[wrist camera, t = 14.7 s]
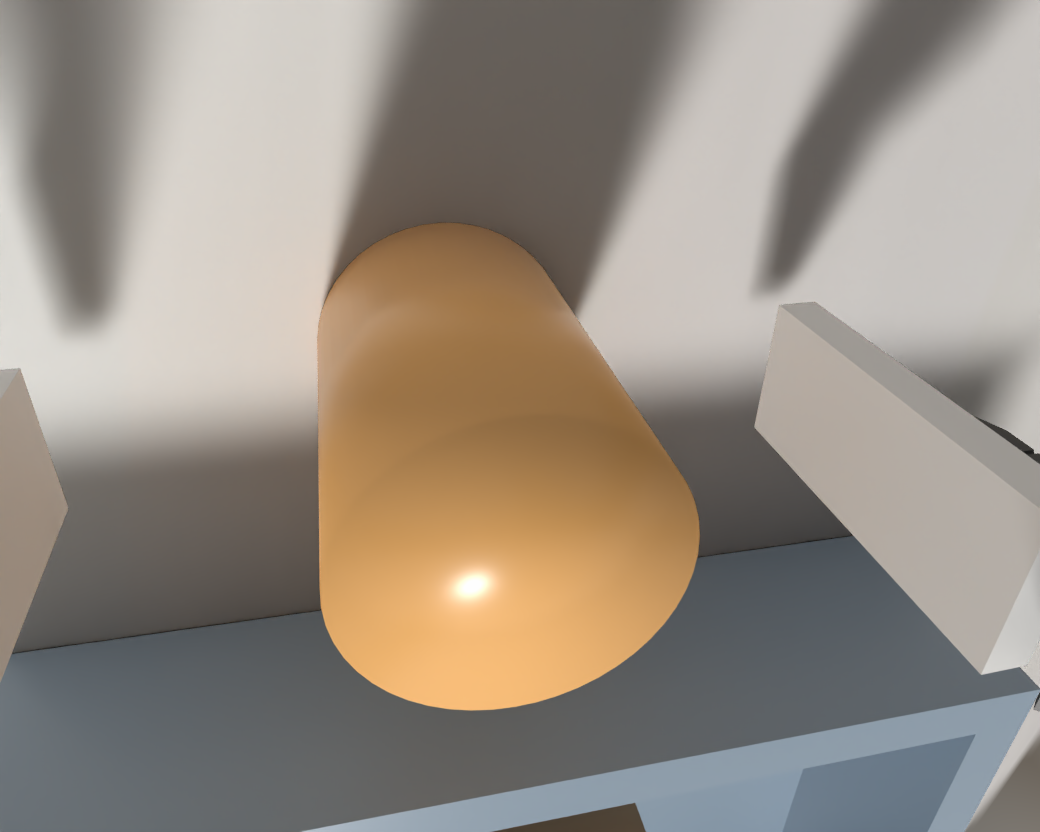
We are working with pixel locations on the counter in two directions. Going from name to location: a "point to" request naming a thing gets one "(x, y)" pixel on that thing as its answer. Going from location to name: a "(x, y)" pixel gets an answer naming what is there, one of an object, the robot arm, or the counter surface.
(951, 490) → the robot arm
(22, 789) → the tote
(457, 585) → the orange cylinder
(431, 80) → the counter surface
